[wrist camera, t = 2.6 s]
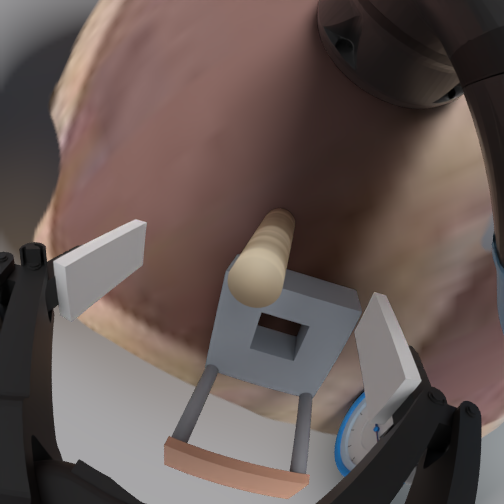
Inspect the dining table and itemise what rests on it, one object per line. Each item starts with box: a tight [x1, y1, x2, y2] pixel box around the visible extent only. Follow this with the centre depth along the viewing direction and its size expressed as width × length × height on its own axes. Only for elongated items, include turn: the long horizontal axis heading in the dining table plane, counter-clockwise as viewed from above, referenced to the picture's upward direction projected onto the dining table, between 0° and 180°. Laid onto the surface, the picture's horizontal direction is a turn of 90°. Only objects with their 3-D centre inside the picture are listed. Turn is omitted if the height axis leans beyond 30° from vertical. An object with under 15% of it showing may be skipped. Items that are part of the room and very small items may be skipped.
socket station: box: [164, 254, 362, 499], centre depth 23 cm, size 16×12×15 cm
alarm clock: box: [335, 391, 419, 485], centre depth 23 cm, size 13×6×15 cm, turn 150°
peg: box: [228, 208, 295, 308], centre depth 20 cm, size 3×3×12 cm
